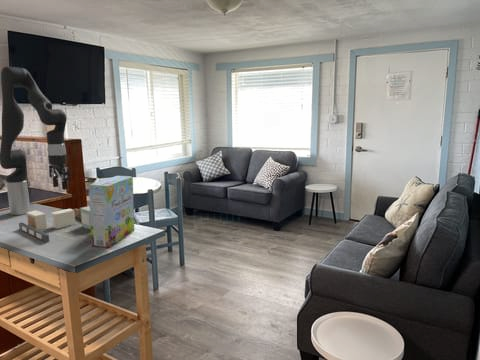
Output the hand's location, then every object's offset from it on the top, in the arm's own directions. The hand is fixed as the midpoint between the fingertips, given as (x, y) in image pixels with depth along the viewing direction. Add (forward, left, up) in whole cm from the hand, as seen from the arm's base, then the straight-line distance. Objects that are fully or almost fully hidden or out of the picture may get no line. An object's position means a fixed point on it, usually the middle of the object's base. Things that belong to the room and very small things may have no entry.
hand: (60, 188), depth 169 cm
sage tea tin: (+12, +7, -18) cm, 23 cm away
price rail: (+3, -15, -18) cm, 24 cm away
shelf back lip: (+3, +11, -18) cm, 21 cm away
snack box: (+34, +5, -18) cm, 39 cm away
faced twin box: (-7, -9, -18) cm, 22 cm away
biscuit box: (0, 0, -18) cm, 18 cm away
